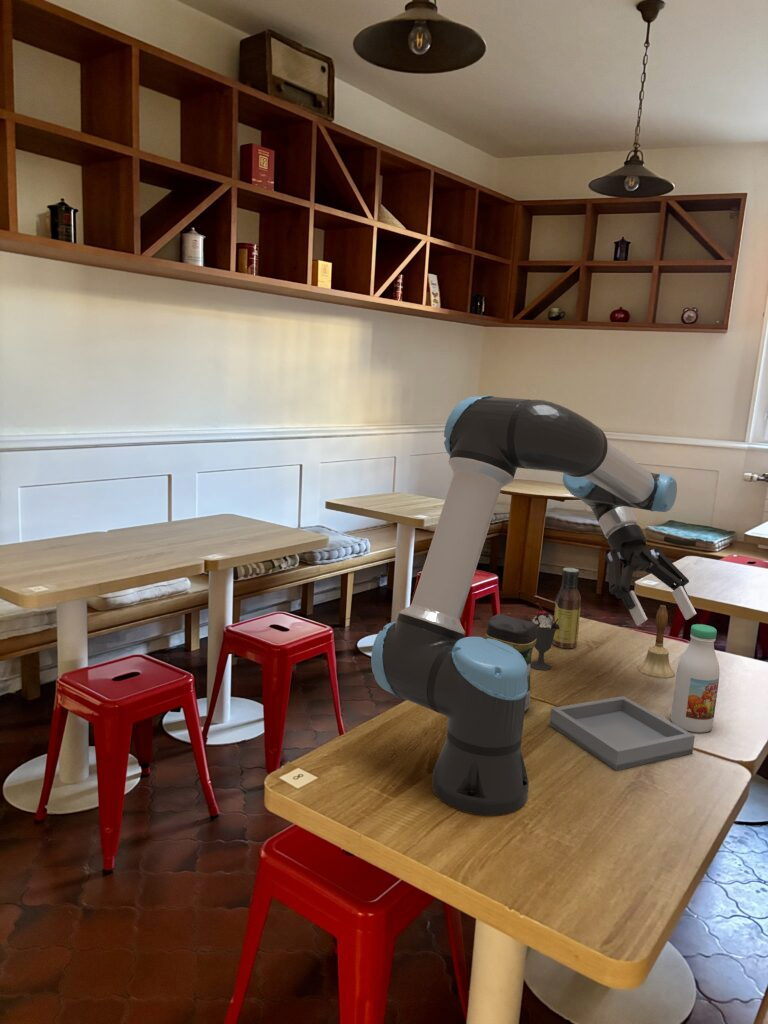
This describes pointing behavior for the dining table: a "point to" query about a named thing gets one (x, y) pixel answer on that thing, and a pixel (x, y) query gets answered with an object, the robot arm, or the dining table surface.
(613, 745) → the serving tray
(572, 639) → the sauce bottle
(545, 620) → the sundae
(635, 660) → the dining table surface
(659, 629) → the hand bell
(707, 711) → the milk bottle
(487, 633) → the coffee jar
